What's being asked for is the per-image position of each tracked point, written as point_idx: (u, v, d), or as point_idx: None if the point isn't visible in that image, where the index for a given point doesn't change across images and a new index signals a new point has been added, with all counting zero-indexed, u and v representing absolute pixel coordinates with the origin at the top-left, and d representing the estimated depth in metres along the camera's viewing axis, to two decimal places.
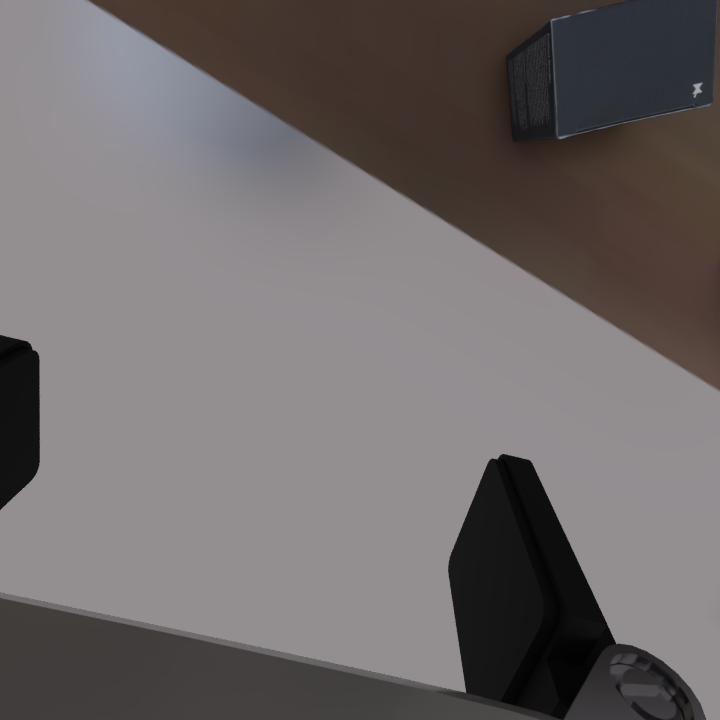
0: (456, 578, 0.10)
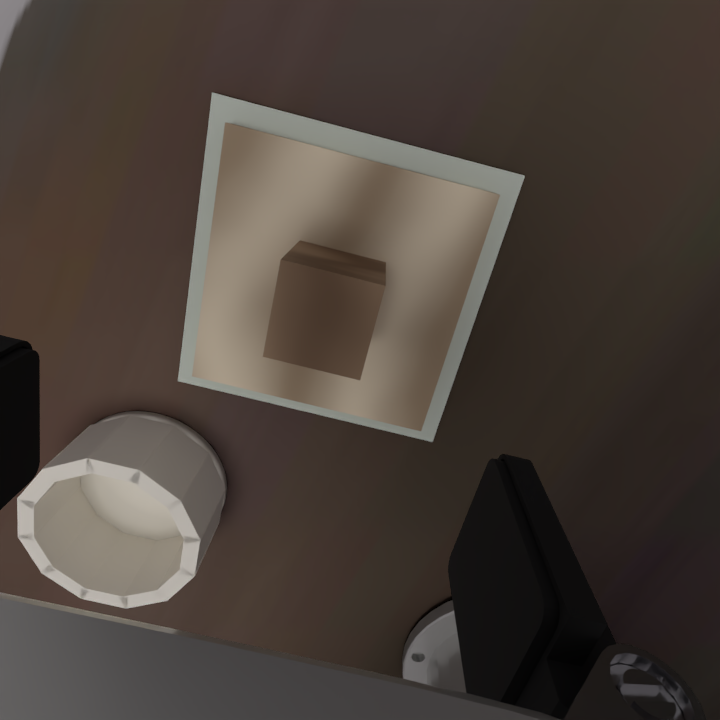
0: (456, 578, 0.10)
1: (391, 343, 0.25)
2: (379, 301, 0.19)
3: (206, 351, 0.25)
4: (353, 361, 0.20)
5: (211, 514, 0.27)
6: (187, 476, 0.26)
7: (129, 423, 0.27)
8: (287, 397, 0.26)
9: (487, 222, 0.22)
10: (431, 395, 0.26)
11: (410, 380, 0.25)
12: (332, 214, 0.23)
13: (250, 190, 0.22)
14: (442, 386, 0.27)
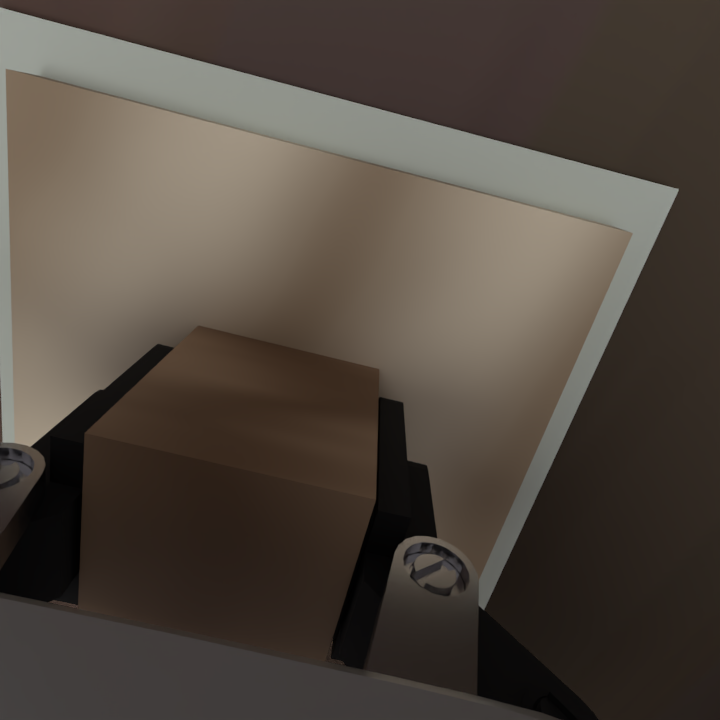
0: None
1: None
2: (360, 535, 0.07)
3: None
4: (298, 654, 0.08)
5: None
6: None
7: None
8: None
9: (599, 291, 0.10)
10: None
11: None
12: (263, 273, 0.10)
13: (82, 222, 0.10)
14: (484, 571, 0.14)
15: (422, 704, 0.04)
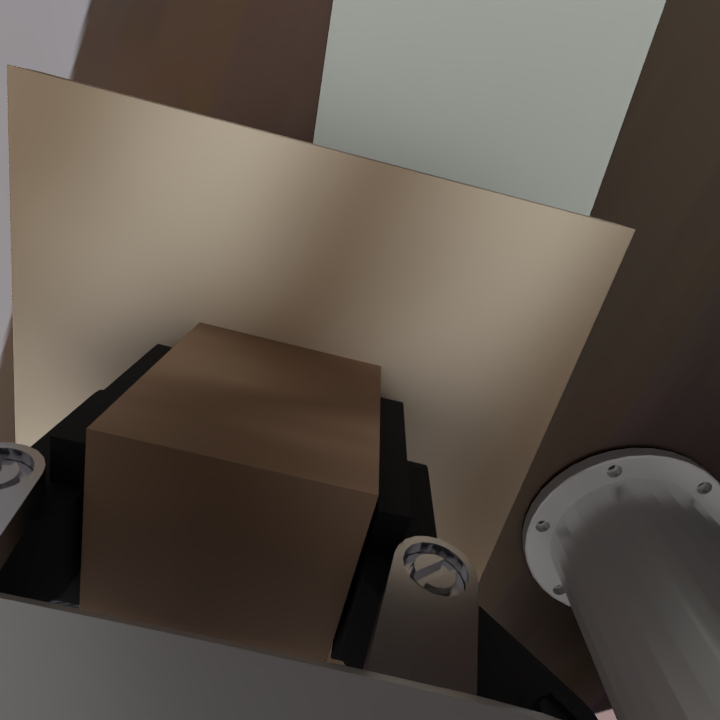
0: None
1: None
2: (362, 530, 0.07)
3: None
4: (300, 650, 0.08)
5: None
6: None
7: None
8: None
9: (601, 288, 0.10)
10: None
11: None
12: (265, 270, 0.10)
13: (83, 219, 0.10)
14: (580, 212, 0.25)
15: (422, 704, 0.04)
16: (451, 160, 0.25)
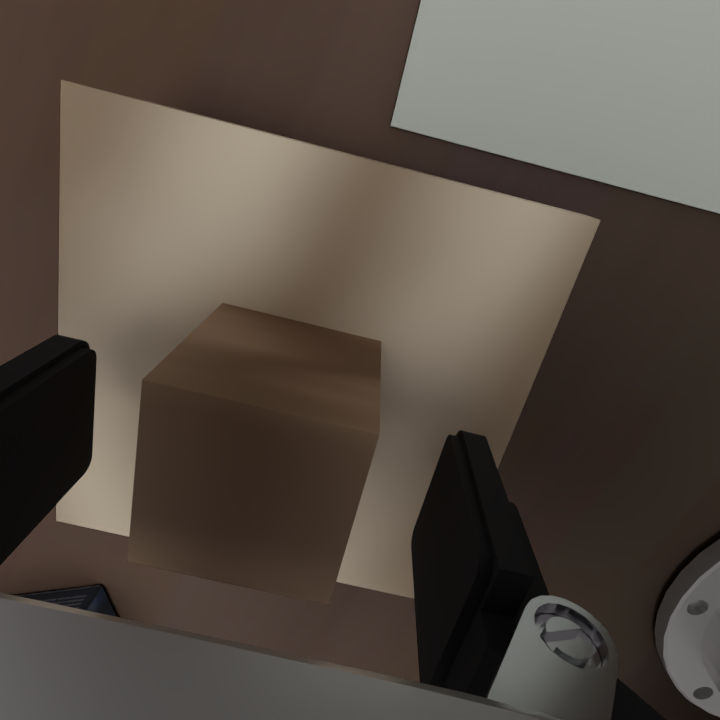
0: (416, 549, 0.11)
1: (392, 474, 0.14)
2: (366, 465, 0.09)
3: None
4: (314, 572, 0.10)
5: None
6: None
7: None
8: None
9: (572, 271, 0.12)
10: None
11: None
12: (280, 256, 0.12)
13: (123, 212, 0.12)
14: None
15: (422, 704, 0.04)
16: (658, 19, 0.15)
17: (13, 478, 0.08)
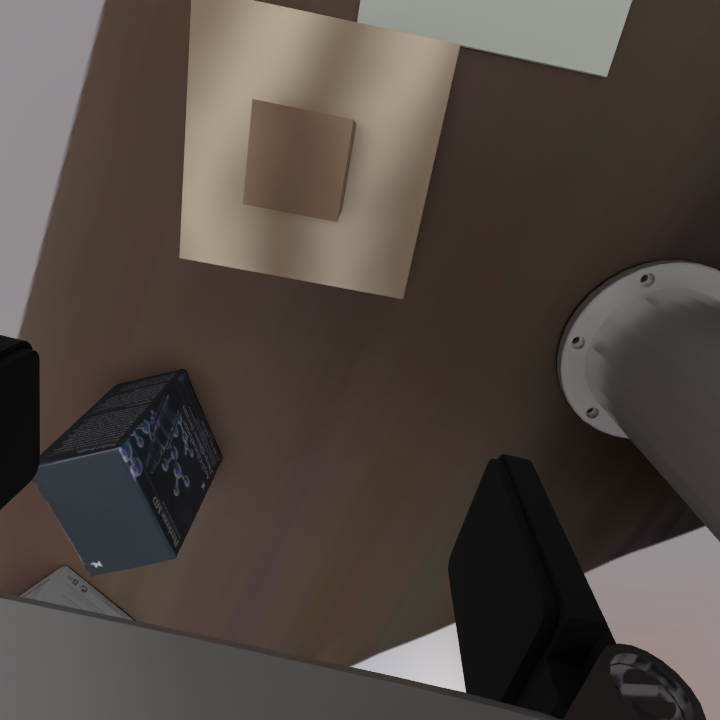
0: (456, 578, 0.10)
1: (368, 208, 0.26)
2: (349, 136, 0.20)
3: (191, 230, 0.26)
4: (329, 202, 0.21)
5: None
6: None
7: None
8: (272, 273, 0.27)
9: (450, 74, 0.23)
10: (410, 260, 0.27)
11: (388, 246, 0.26)
12: (301, 77, 0.24)
13: (221, 57, 0.23)
14: (621, 4, 0.27)
15: (422, 704, 0.04)
16: None
17: None
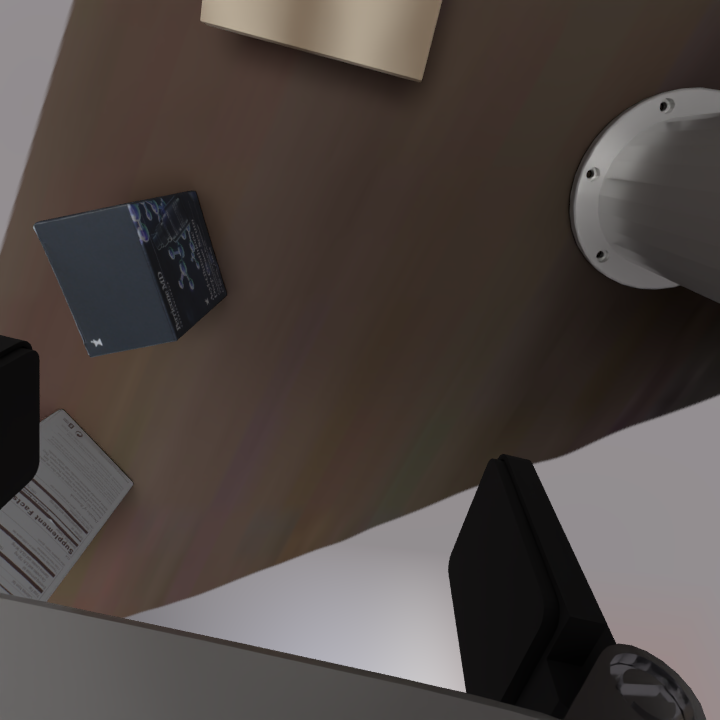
0: (456, 578, 0.10)
1: None
2: None
3: None
4: None
5: None
6: None
7: None
8: (292, 43, 0.27)
9: None
10: (431, 35, 0.27)
11: (410, 17, 0.26)
12: None
13: None
14: None
15: (422, 704, 0.04)
16: None
17: None
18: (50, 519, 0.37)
